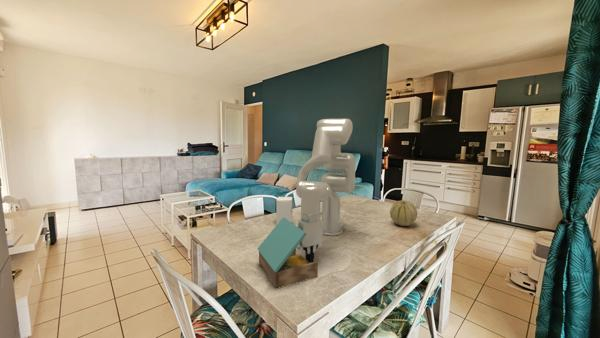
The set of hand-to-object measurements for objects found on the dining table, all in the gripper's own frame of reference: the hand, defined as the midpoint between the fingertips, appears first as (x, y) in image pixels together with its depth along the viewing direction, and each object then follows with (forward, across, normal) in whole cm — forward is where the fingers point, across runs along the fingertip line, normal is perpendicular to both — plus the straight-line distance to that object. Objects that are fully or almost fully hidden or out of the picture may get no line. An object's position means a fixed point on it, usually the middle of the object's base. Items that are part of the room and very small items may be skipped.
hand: (309, 261), depth 97 cm
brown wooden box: (+1, +10, 0) cm, 10 cm away
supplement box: (+1, -10, -48) cm, 49 cm away
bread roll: (+2, +6, -1) cm, 6 cm away
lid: (-10, +12, 0) cm, 16 cm away
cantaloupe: (+1, -71, -15) cm, 73 cm away
